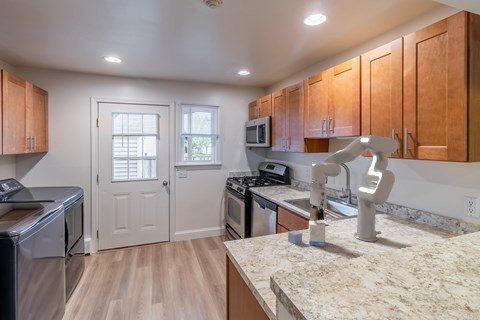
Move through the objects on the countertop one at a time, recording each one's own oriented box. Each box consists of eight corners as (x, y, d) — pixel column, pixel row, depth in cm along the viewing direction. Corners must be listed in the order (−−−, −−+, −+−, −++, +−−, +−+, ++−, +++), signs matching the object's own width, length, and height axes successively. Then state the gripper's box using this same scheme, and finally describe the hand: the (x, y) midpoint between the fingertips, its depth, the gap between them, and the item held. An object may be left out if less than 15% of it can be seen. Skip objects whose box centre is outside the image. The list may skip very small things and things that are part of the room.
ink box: (325, 246, 135) (326, 222, 134) (309, 245, 137) (309, 221, 136) (323, 240, 144) (323, 218, 143) (308, 239, 145) (308, 217, 145)
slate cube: (295, 239, 146) (295, 230, 145) (301, 242, 141) (302, 233, 141) (287, 241, 143) (288, 231, 143) (294, 244, 138) (294, 234, 138)
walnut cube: (318, 216, 143) (318, 207, 142) (324, 219, 138) (324, 209, 137) (309, 217, 141) (310, 208, 141) (315, 220, 136) (315, 210, 136)
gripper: (333, 187, 131) (332, 221, 132) (315, 183, 148) (314, 213, 149) (320, 188, 129) (319, 222, 130) (304, 183, 146) (303, 213, 147)
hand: (317, 217), depth 139 cm, fingers closed on walnut cube, 5 cm apart
